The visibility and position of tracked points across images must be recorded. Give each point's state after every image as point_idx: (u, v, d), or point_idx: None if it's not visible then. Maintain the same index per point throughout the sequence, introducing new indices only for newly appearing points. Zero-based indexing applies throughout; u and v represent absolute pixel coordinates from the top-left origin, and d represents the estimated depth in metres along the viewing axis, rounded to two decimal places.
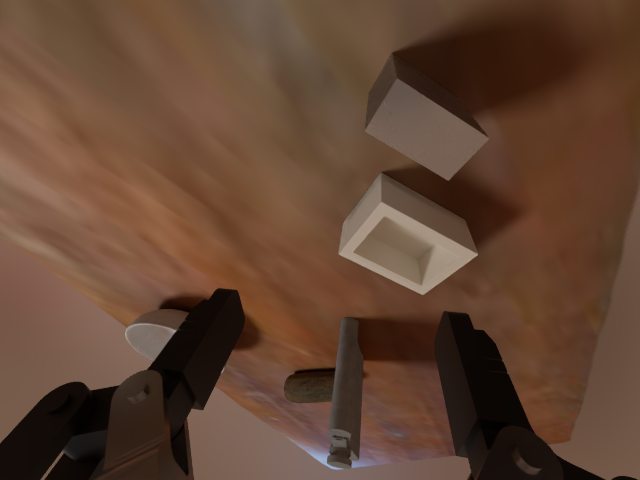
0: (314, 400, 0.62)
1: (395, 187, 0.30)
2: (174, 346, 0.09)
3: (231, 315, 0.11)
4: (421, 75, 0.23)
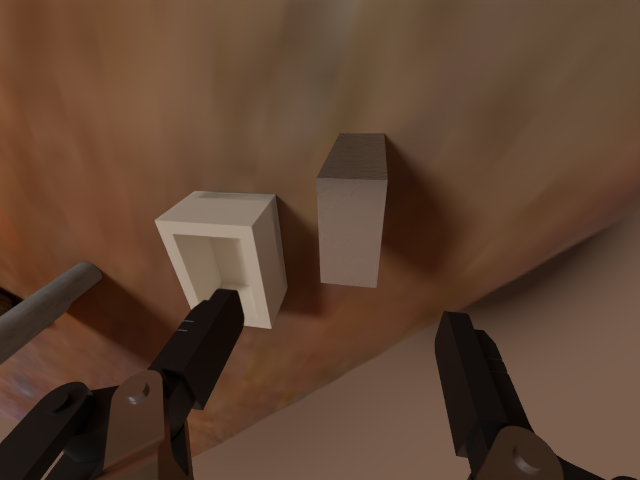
0: None
1: (273, 220, 0.26)
2: (174, 346, 0.09)
3: (231, 315, 0.11)
4: None
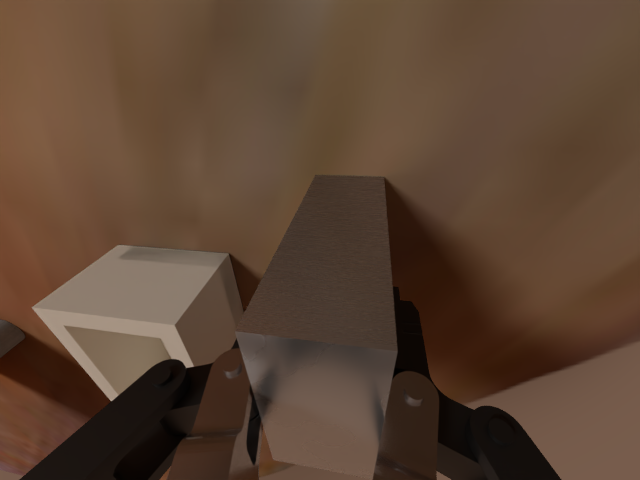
0: None
1: (225, 290, 0.18)
2: None
3: None
4: None
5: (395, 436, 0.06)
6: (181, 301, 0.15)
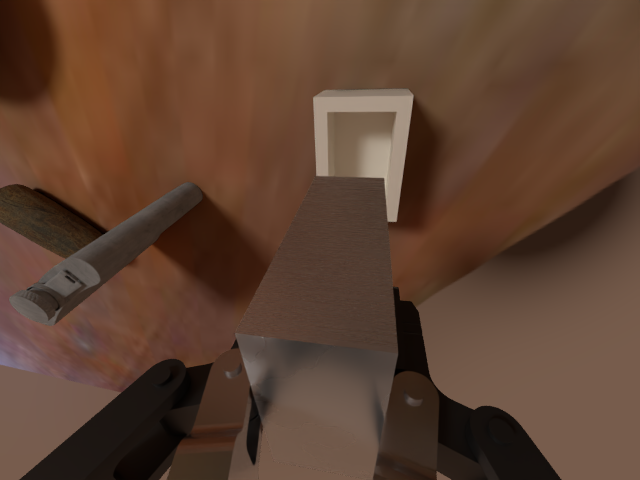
0: (34, 238, 0.41)
1: None
2: None
3: None
4: None
5: (395, 436, 0.06)
6: (404, 93, 0.24)
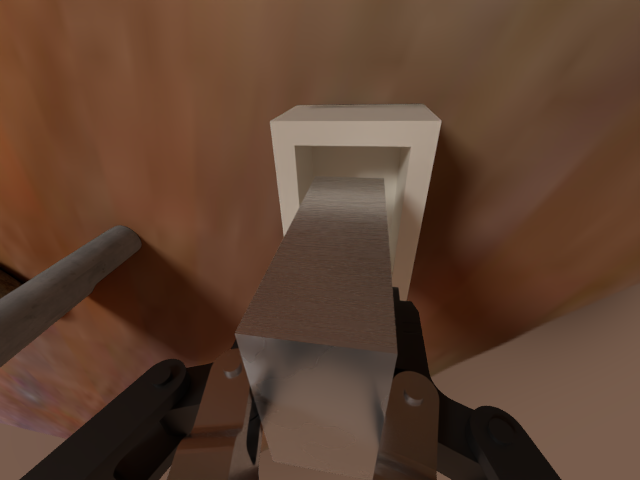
0: None
1: None
2: None
3: None
4: None
5: (395, 436, 0.06)
6: (423, 115, 0.14)
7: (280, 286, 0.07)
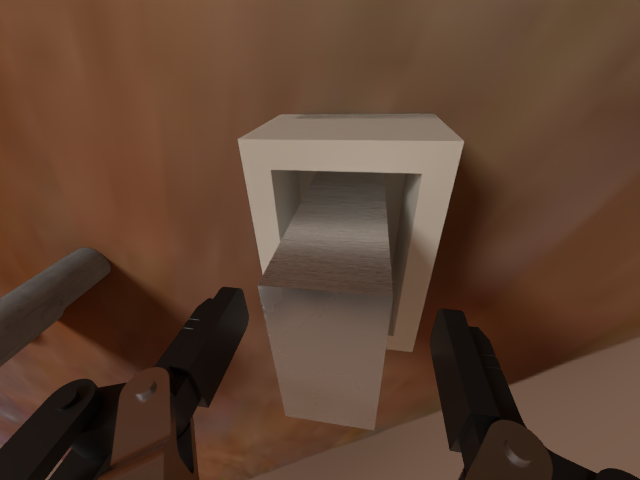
0: None
1: None
2: (180, 344, 0.09)
3: (236, 313, 0.11)
4: None
5: None
6: (437, 132, 0.11)
7: (293, 251, 0.09)
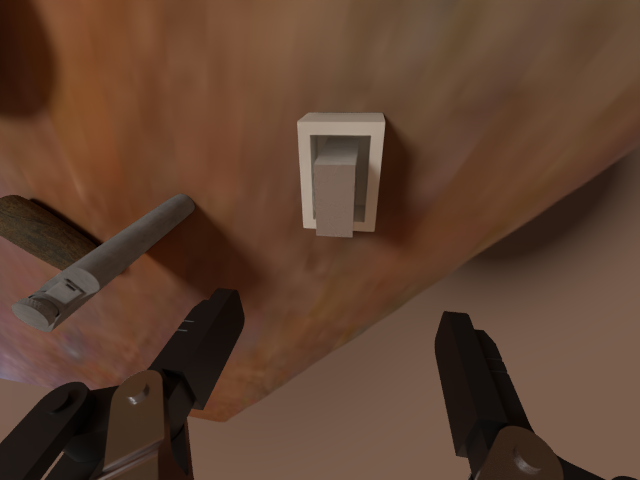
0: (29, 248, 0.42)
1: None
2: (174, 346, 0.09)
3: (231, 315, 0.11)
4: (357, 168, 0.31)
5: None
6: (378, 119, 0.27)
7: (323, 159, 0.24)
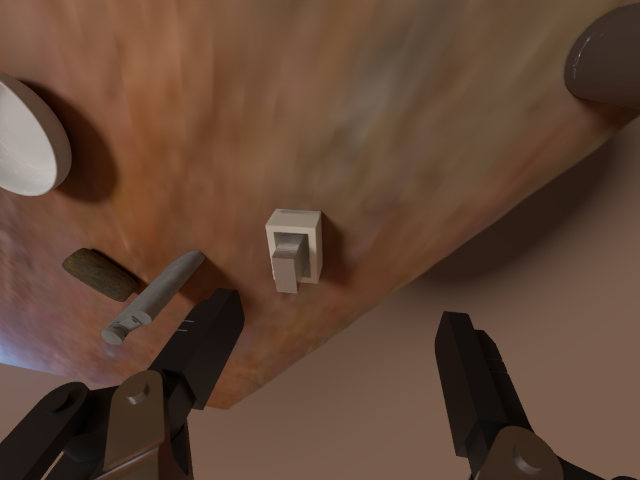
0: (93, 285, 0.62)
1: (320, 224, 0.49)
2: (174, 346, 0.09)
3: (231, 315, 0.11)
4: (306, 244, 0.50)
5: None
6: (313, 223, 0.46)
7: (278, 251, 0.43)
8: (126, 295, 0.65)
